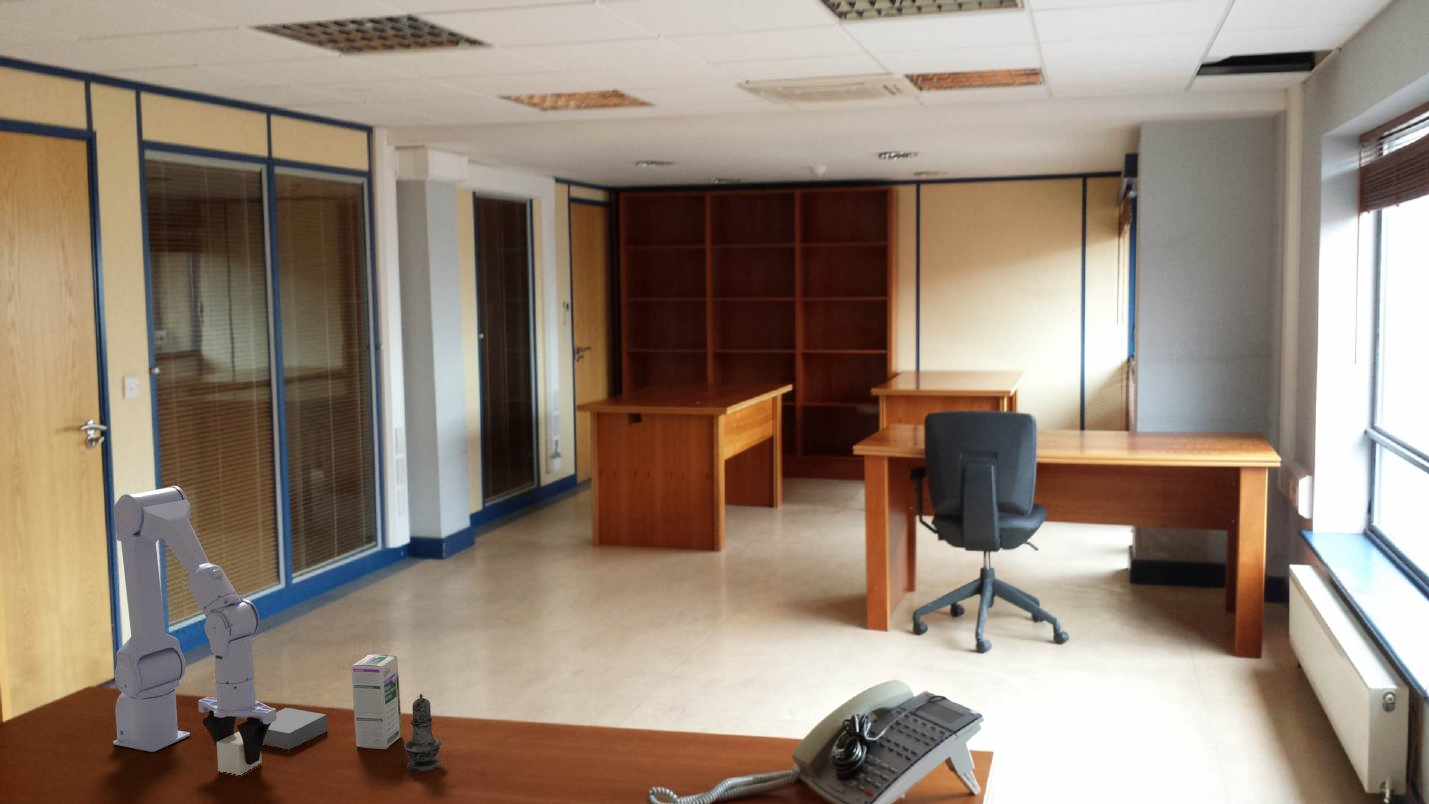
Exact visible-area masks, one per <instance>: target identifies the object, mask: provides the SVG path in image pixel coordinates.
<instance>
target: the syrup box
mask: <svg viewBox="0 0 1429 804" xmlns="http://www.w3.org/2000/svg"><path fill="white" fill-rule="evenodd" d="M398 660H399V659H398V656H397V655H392V654H384V653H382V654H379V653H377V654H376V653H375V654H367V655H366V656H365V657H364V658H362V659H360V660H358V661H357V662H356V663H354V664H352V665H351V666H350V667H351V684H352V699H353V715H354V728H355V729H354V731H355V746H356V747H358V748H365V749H374V750H375V749H379V750H388V748H389V747H390V746H391V745H393V744H394V743H395V742H397V740H399V739H400V738H401V737H402V736H403V732H402V731H403V730H402V715H401V714H402V713H401V711H402V710H401V698H400V697H401V696H400V682H399V681H400V680H399V679H400V677H399V663H398Z"/></svg>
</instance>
